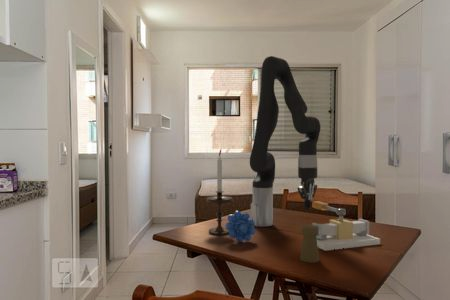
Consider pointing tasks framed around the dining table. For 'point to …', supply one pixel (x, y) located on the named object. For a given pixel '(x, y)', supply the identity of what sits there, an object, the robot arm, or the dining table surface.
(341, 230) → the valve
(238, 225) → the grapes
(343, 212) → the lever
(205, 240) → the dining table surface
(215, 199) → the candlestick
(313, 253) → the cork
